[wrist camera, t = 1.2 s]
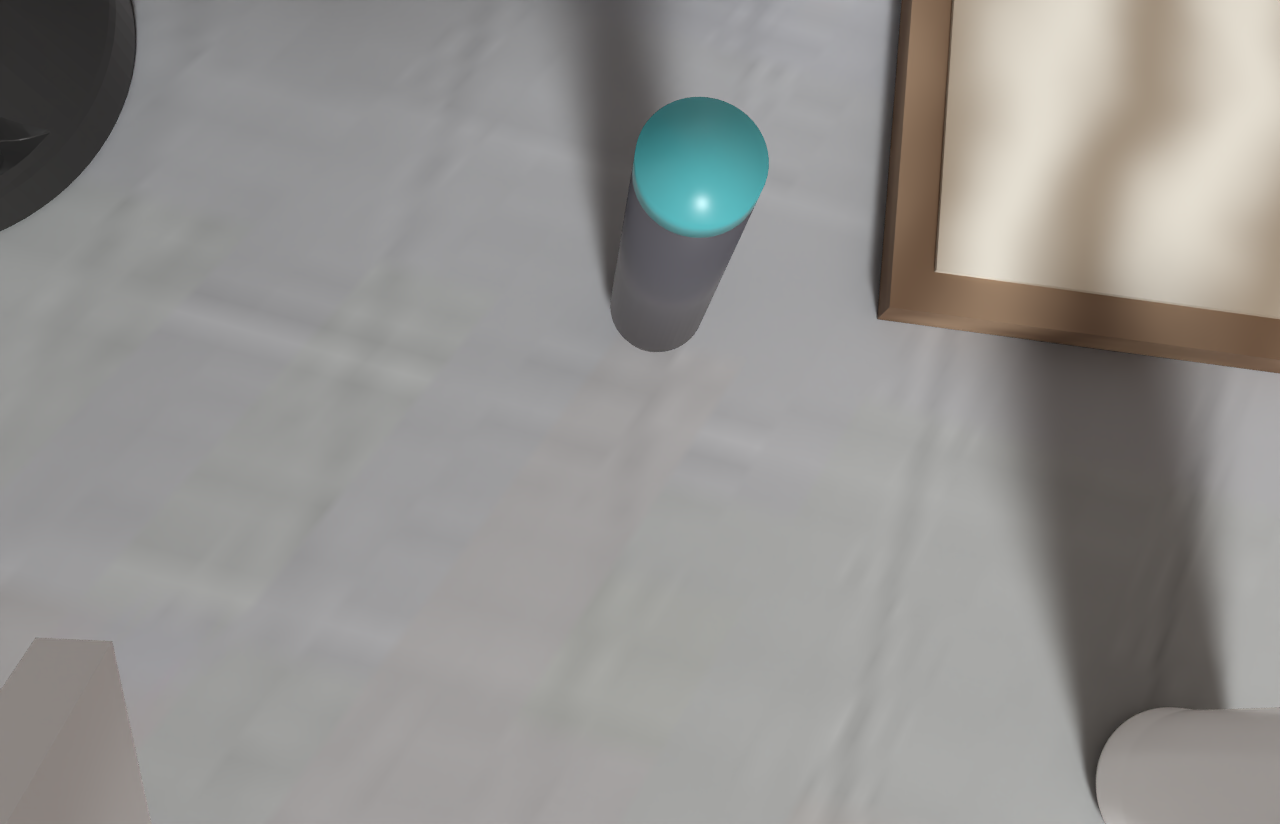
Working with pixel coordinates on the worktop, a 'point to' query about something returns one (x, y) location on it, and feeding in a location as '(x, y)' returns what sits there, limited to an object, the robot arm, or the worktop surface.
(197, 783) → the worktop surface
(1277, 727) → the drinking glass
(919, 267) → the writing board
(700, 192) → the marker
